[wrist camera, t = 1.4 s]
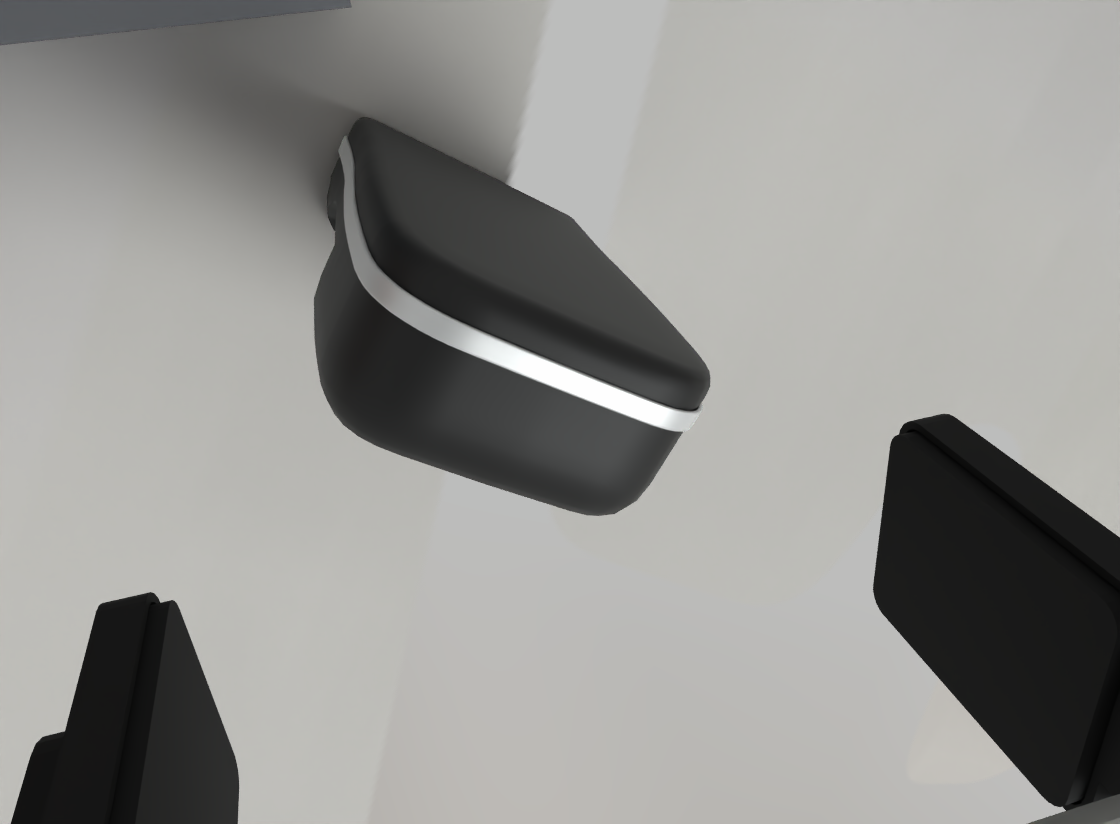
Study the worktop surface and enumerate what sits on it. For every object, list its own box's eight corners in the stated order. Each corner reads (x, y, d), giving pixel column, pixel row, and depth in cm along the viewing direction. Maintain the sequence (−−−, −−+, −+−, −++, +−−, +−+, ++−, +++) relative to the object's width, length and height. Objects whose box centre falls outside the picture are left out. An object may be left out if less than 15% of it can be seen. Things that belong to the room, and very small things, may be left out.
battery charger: (291, 238, 24) (286, 460, 14) (349, 104, 23) (388, 246, 13) (520, 333, 27) (647, 571, 17) (582, 219, 26) (756, 404, 16)
